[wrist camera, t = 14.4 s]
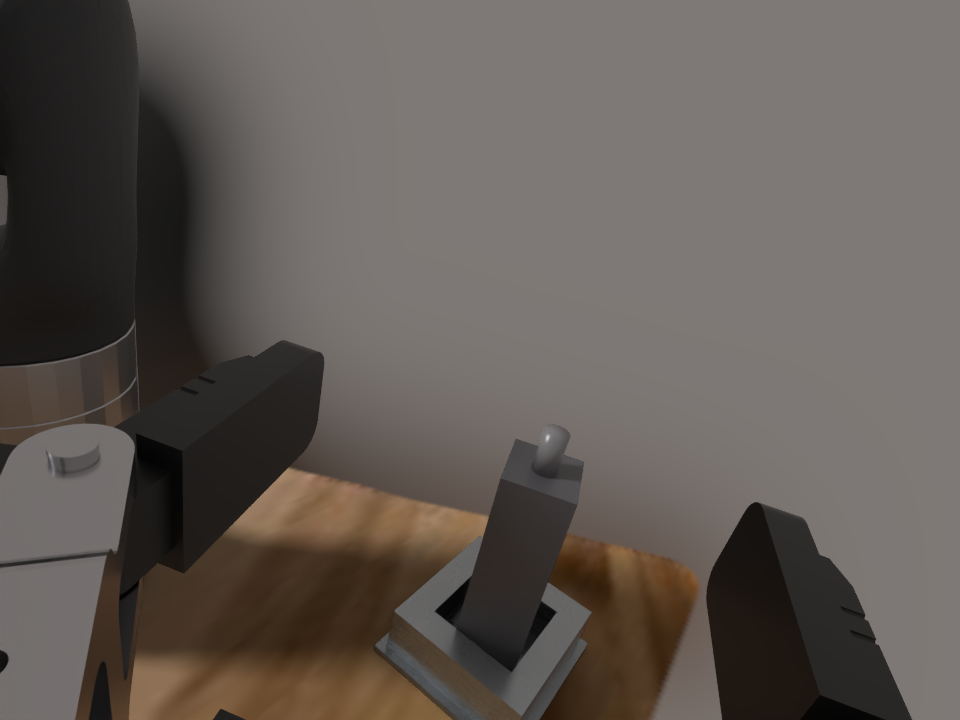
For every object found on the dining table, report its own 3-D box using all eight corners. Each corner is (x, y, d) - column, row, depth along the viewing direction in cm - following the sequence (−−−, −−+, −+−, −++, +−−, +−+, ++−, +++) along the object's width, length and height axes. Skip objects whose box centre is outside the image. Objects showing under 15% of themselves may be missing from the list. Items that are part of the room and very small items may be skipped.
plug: (446, 659, 35) (512, 439, 28) (464, 609, 38) (526, 402, 31) (509, 684, 34) (592, 466, 27) (521, 631, 38) (597, 425, 31)
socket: (373, 649, 35) (381, 610, 33) (468, 562, 42) (478, 528, 41) (508, 768, 30) (524, 730, 29) (586, 647, 38) (601, 612, 37)
